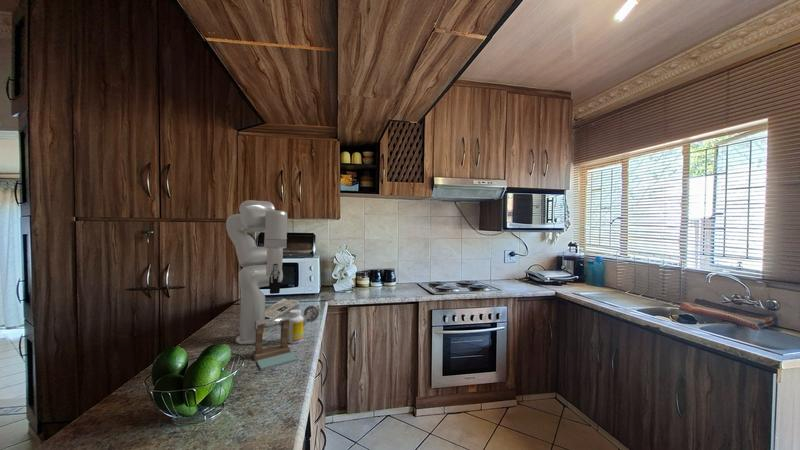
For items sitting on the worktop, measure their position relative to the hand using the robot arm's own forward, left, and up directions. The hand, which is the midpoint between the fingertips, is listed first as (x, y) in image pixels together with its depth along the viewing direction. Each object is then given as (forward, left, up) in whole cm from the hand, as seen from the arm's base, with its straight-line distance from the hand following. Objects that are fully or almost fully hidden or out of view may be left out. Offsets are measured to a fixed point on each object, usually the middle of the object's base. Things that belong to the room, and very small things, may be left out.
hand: (274, 290), depth 105 cm
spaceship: (-34, +27, -25) cm, 50 cm away
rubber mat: (+3, +1, -25) cm, 25 cm away
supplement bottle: (-12, +12, -25) cm, 30 cm away
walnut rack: (-5, +1, -25) cm, 26 cm away
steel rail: (-5, +1, -15) cm, 15 cm away
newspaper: (-64, +18, -26) cm, 71 cm away
